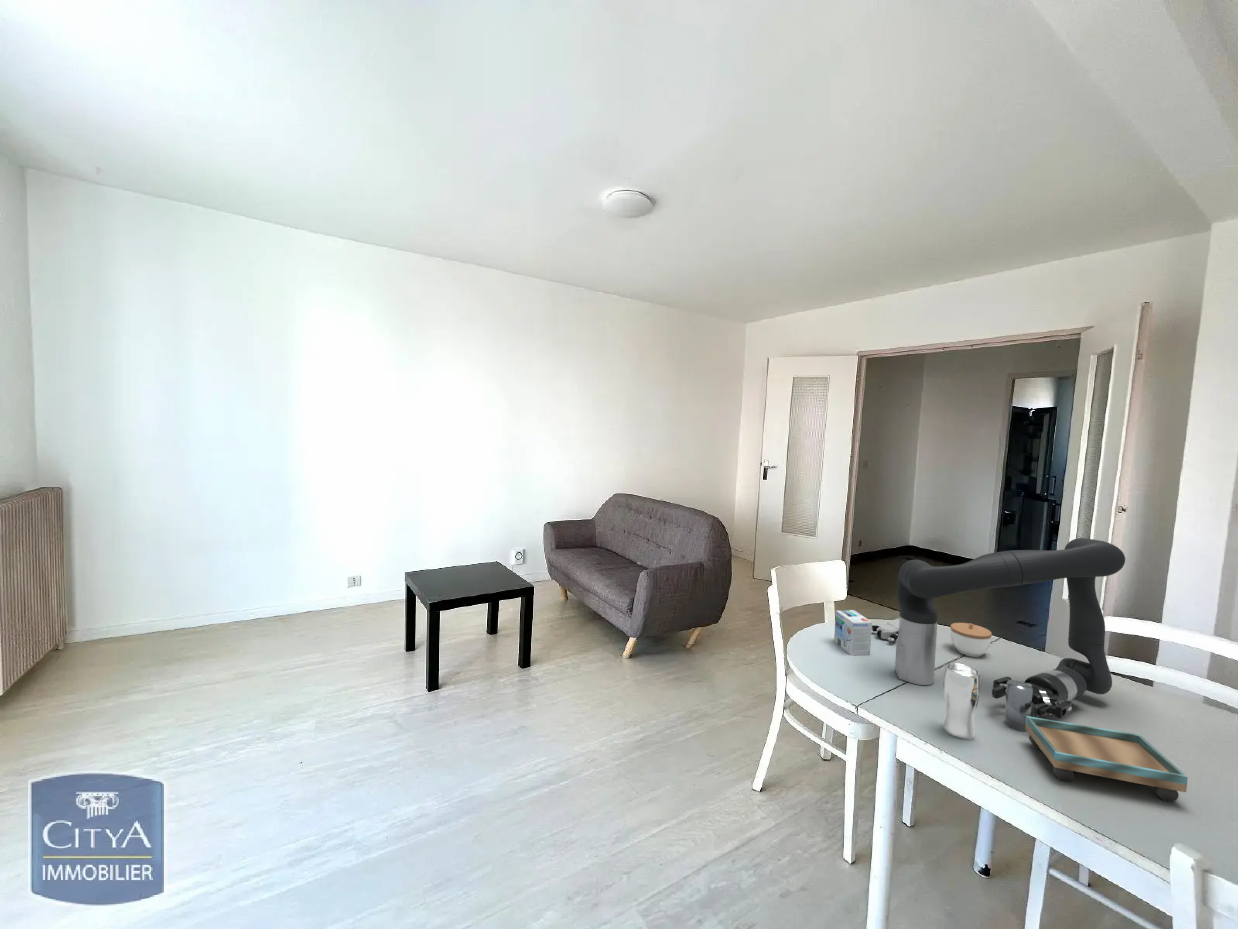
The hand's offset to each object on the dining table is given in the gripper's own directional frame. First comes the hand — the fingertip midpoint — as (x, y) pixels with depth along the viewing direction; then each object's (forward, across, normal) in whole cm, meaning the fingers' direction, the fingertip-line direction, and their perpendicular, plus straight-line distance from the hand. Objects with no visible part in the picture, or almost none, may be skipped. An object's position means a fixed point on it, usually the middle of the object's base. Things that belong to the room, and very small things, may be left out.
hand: (1014, 703), depth 119 cm
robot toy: (-23, -47, +6) cm, 52 cm away
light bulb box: (-2, -47, +6) cm, 47 cm away
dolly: (+2, +16, +6) cm, 17 cm away
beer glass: (+14, -4, +6) cm, 16 cm away
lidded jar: (-34, -29, +6) cm, 45 cm away
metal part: (-2, 0, +6) cm, 6 cm away
